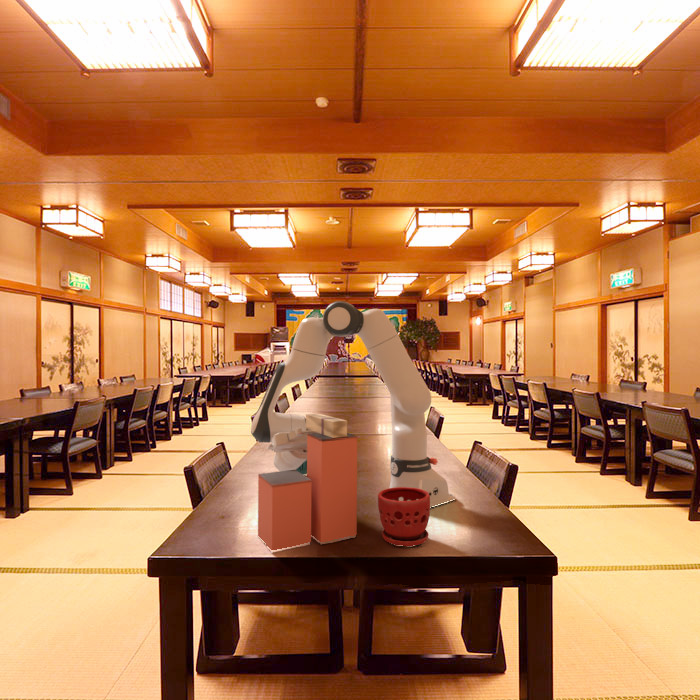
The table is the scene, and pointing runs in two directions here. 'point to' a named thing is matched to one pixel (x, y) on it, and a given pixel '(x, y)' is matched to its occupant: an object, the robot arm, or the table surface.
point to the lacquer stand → (311, 496)
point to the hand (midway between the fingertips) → (315, 429)
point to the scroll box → (326, 425)
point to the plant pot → (404, 515)
